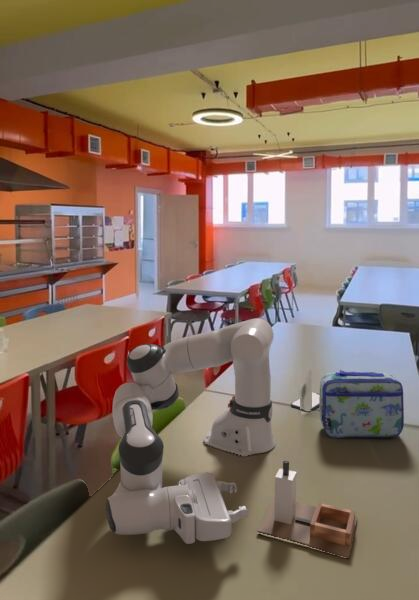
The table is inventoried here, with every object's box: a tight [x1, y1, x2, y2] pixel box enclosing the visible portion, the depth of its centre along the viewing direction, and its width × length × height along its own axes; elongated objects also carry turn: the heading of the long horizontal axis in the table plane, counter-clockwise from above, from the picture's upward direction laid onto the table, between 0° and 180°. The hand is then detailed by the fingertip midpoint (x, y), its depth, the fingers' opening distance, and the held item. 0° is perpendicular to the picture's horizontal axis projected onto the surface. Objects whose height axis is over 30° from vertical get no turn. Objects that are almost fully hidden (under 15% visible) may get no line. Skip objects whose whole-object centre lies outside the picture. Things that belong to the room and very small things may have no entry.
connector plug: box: [274, 460, 297, 524], centre depth 109 cm, size 4×4×14 cm
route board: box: [257, 496, 358, 559], centre depth 108 cm, size 20×14×4 cm
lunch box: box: [318, 369, 405, 439], centre depth 153 cm, size 26×11×21 cm, turn 84°
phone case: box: [290, 391, 320, 411], centre depth 181 cm, size 9×2×16 cm
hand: (241, 498), depth 107 cm, fingers open, 8 cm apart
